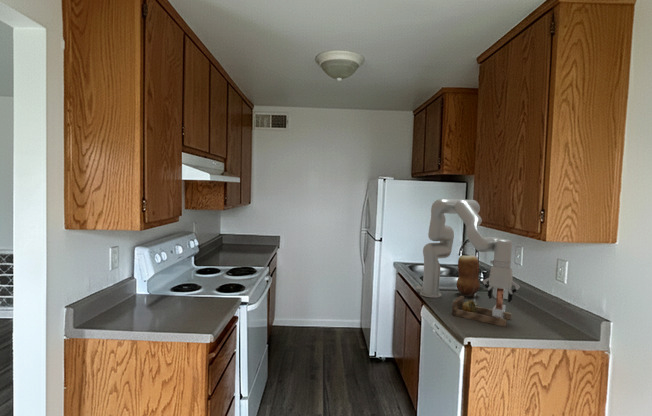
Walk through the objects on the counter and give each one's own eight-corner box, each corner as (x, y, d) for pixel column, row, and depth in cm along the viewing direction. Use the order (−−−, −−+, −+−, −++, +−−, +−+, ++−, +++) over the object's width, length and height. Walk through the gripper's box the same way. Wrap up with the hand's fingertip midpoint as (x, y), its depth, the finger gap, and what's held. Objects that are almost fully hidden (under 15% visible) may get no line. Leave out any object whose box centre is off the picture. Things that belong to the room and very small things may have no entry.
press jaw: (491, 320, 182) (493, 289, 182) (496, 315, 191) (498, 285, 190) (500, 322, 180) (502, 291, 179) (504, 316, 188) (506, 287, 188)
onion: (475, 312, 196) (476, 297, 196) (478, 317, 189) (479, 302, 188) (460, 311, 198) (460, 296, 198) (462, 316, 190) (463, 300, 190)
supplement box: (505, 296, 232) (506, 276, 231) (507, 299, 225) (509, 278, 224) (492, 295, 234) (493, 274, 233) (494, 298, 227) (495, 277, 226)
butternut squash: (456, 292, 238) (458, 252, 236) (479, 295, 232) (482, 254, 231) (455, 297, 225) (457, 255, 224) (479, 300, 220) (481, 258, 218)
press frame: (452, 314, 191) (452, 301, 191) (459, 308, 203) (460, 295, 202) (505, 326, 177) (506, 312, 177) (510, 319, 188) (511, 305, 188)
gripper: (481, 262, 186) (479, 297, 187) (520, 268, 176) (518, 305, 177) (484, 260, 192) (482, 294, 193) (522, 266, 182) (520, 301, 183)
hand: (499, 299), depth 185 cm, fingers open, 8 cm apart
